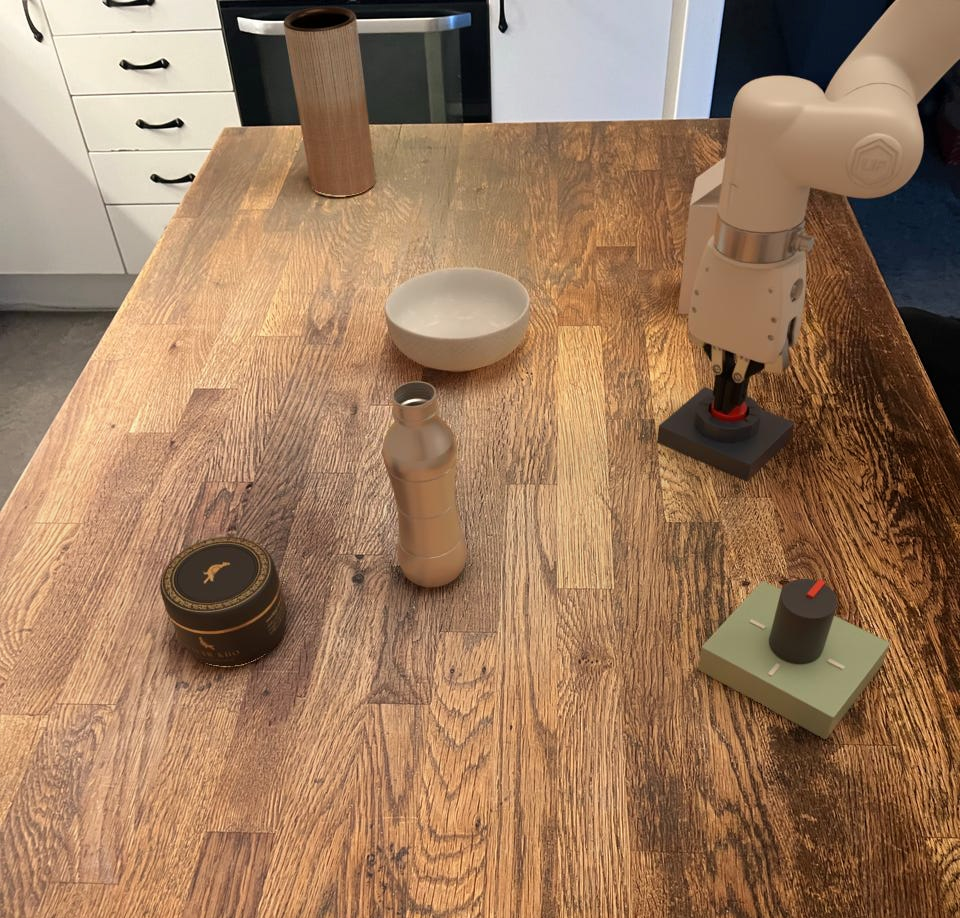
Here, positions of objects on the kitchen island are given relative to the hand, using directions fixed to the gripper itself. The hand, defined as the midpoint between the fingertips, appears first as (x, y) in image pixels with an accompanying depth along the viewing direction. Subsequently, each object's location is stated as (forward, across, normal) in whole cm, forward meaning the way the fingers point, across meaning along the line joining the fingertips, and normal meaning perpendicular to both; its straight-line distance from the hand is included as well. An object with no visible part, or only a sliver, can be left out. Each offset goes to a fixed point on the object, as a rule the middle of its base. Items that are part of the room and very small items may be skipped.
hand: (727, 405), depth 103 cm
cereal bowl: (+5, +34, +4) cm, 34 cm away
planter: (+5, +80, -21) cm, 83 cm away
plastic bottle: (+5, +11, +34) cm, 36 cm away
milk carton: (+5, +15, -21) cm, 26 cm away
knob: (+1, -21, +24) cm, 32 cm away
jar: (+5, +20, +51) cm, 55 cm away
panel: (+4, -21, +24) cm, 32 cm away
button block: (+4, 0, 0) cm, 5 cm away
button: (+2, 0, 0) cm, 2 cm away
